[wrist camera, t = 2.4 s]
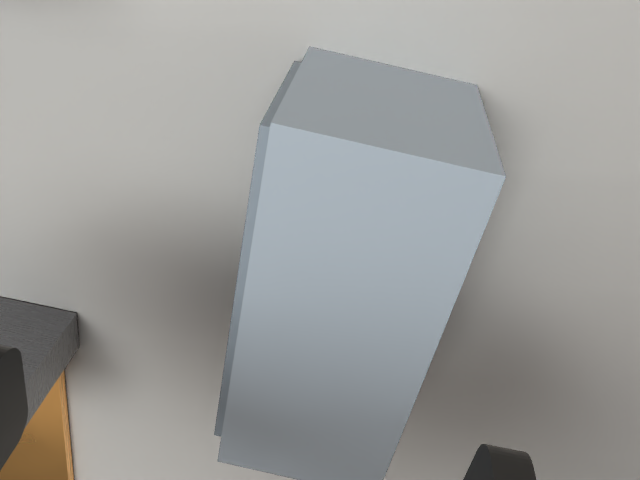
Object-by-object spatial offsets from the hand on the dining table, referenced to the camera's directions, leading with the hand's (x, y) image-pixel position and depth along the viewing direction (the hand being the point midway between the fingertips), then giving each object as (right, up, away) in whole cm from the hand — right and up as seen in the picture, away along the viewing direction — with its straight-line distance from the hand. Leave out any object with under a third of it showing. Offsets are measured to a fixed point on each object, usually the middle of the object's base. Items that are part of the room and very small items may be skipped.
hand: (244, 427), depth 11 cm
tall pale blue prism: (+2, +4, +6) cm, 7 cm away
